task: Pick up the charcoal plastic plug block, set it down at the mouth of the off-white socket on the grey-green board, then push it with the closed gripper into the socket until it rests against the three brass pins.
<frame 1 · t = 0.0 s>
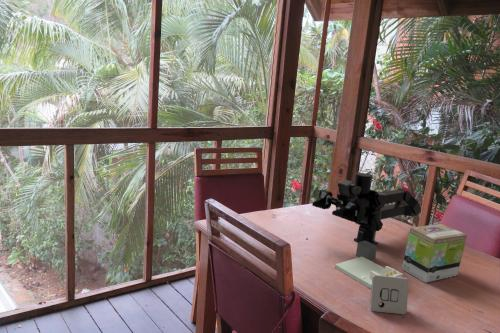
hand: (322, 208, 132), 17 cm above the table, tool horizontal, fingers open, 9 cm apart
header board: (369, 275, 125), on the table
electrical switch: (384, 308, 107), on the table
plug: (365, 257, 137), on the table
tea box: (429, 273, 130), on the table
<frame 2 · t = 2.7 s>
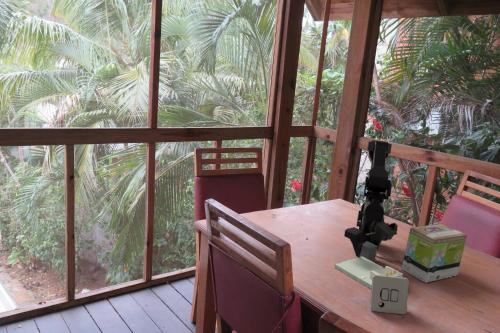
hand: (365, 254, 137), 1 cm above the table, tool pointing down, fingers open, 8 cm apart
nothing on the table moved.
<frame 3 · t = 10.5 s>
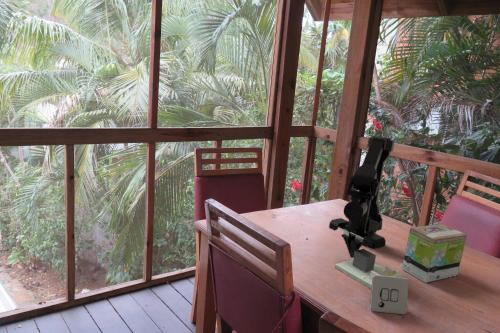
hand: (352, 257, 130), 3 cm above the table, tool pointing down, fingers closed
plug: (362, 267, 127), point 1 cm above the table, touching gripper, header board
everything else where it was.
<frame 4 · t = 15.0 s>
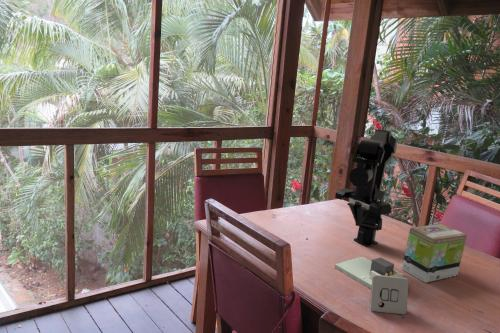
hand: (358, 225, 132), 12 cm above the table, tool pointing down, fingers closed
plug: (380, 277, 121), point 1 cm above the table, touching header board
everything else where it was.
at the end: plug 0.2 cm from the target spot, point 1.2 cm above the table; plug tilted 0°; the gripper is holding nothing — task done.
